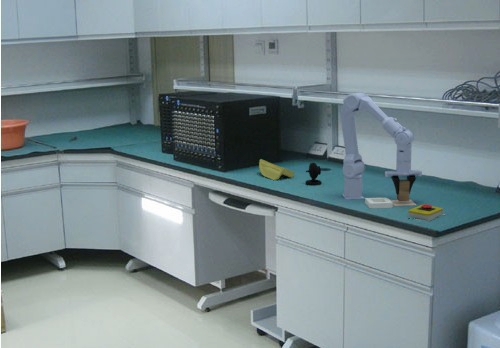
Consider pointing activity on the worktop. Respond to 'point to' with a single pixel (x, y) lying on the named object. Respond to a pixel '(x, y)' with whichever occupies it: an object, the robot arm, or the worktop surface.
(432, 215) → the emergency button
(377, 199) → the pocket block
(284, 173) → the plastic component
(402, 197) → the peg
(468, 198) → the worktop surface
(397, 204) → the pad
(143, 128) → the worktop surface
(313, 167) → the webcam
